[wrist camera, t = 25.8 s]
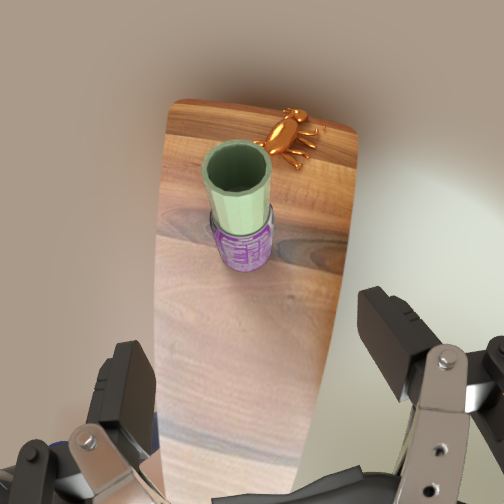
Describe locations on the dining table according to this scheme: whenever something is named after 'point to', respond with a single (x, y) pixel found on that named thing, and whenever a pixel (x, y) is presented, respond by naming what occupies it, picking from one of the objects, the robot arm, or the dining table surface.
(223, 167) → the cup
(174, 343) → the dining table surface
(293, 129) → the figurine
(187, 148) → the dining table surface
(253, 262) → the beverage can
